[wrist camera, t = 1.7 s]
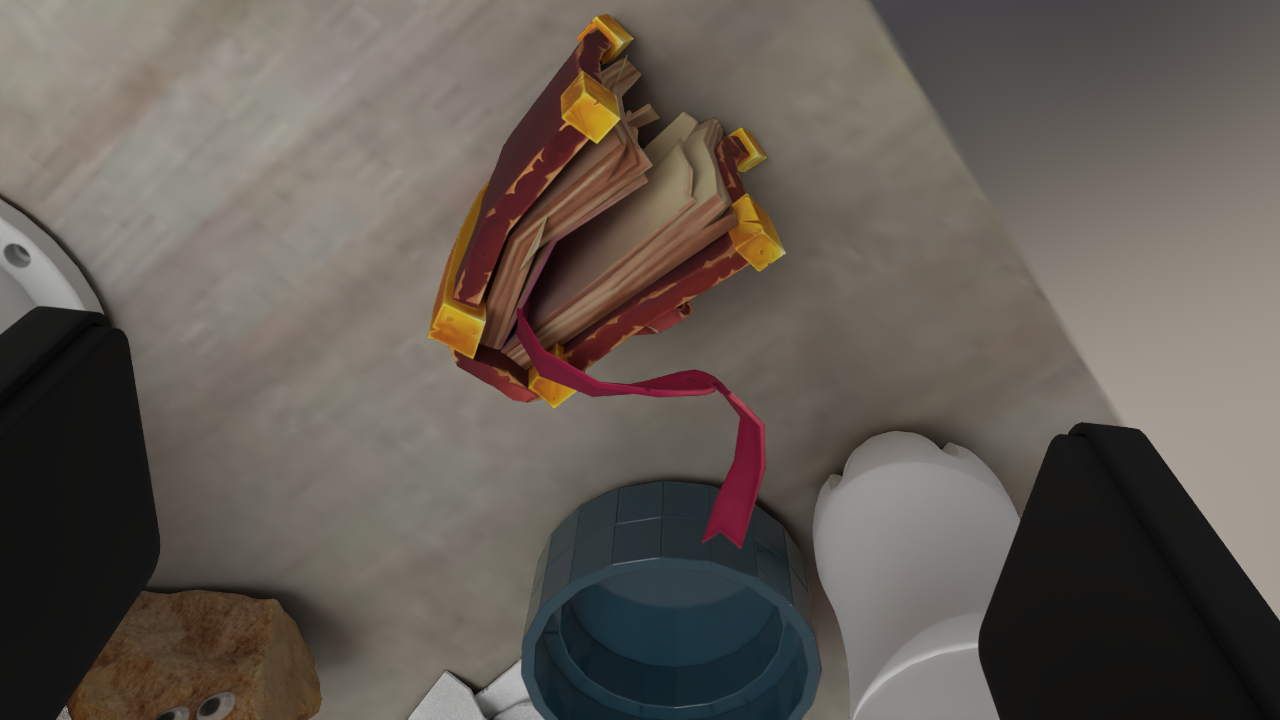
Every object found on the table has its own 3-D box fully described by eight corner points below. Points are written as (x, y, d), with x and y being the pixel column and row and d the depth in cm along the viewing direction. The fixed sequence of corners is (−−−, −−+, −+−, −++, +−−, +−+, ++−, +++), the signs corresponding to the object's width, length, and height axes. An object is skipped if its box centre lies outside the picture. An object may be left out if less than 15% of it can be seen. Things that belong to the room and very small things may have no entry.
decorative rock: (329, 554, 42) (226, 776, 32) (366, 660, 45) (281, 892, 35) (57, 572, 43) (-120, 793, 33) (110, 674, 46) (-38, 903, 36)
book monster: (623, -25, 30) (855, 252, 35) (417, 163, 33) (655, 392, 38) (606, 91, 21) (922, 443, 26) (326, 333, 24) (652, 604, 29)
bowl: (502, 627, 43) (481, 721, 39) (597, 433, 38) (585, 516, 34) (734, 705, 45) (739, 803, 41) (855, 529, 40) (875, 620, 36)
